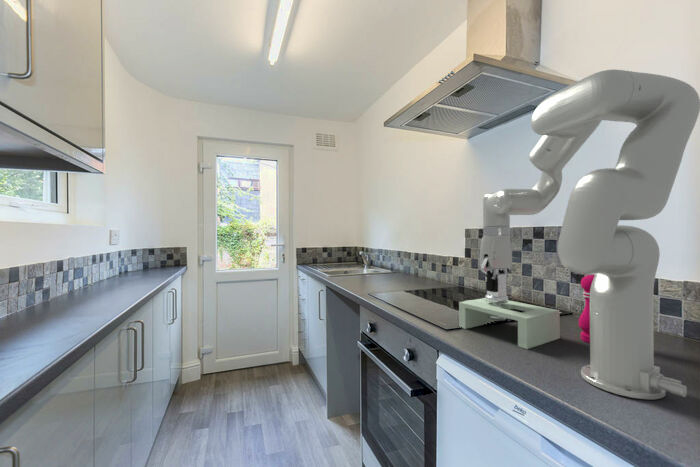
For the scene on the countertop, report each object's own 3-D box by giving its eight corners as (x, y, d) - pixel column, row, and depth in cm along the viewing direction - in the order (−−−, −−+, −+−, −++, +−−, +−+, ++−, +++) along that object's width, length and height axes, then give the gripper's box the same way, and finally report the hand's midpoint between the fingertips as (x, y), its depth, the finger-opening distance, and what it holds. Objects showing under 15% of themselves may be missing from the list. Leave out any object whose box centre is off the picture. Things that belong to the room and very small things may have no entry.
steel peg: (512, 319, 94) (512, 274, 94) (499, 322, 91) (499, 275, 91) (494, 314, 100) (493, 271, 100) (481, 317, 97) (480, 273, 97)
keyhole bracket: (559, 338, 87) (559, 310, 87) (526, 349, 79) (526, 318, 79) (491, 319, 106) (490, 296, 106) (459, 327, 99) (459, 302, 99)
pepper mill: (581, 343, 83) (580, 270, 83) (576, 335, 90) (575, 267, 90) (615, 347, 80) (614, 271, 80) (607, 339, 86) (607, 268, 86)
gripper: (502, 232, 103) (502, 286, 103) (468, 232, 95) (468, 291, 95) (523, 232, 96) (524, 290, 96) (489, 232, 88) (490, 295, 88)
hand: (496, 290), depth 96 cm, fingers closed on steel peg, 4 cm apart
